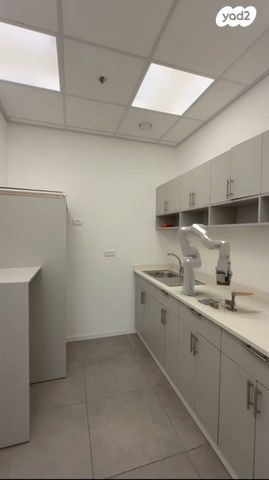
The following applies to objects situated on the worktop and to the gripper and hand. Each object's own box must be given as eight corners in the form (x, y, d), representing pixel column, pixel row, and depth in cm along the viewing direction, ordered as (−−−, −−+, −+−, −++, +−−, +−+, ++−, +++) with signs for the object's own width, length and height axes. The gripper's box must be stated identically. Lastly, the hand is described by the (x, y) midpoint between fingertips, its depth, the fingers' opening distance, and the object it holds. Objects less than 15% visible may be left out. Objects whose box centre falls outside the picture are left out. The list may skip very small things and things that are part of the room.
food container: (229, 284, 175) (230, 271, 175) (231, 286, 169) (232, 273, 169) (213, 282, 177) (214, 270, 177) (214, 284, 171) (215, 271, 171)
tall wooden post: (250, 294, 167) (250, 291, 167) (253, 295, 164) (253, 292, 164) (230, 295, 164) (230, 291, 164) (232, 296, 162) (232, 292, 161)
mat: (196, 300, 183) (196, 300, 183) (211, 299, 188) (211, 298, 188) (205, 305, 173) (205, 304, 173) (220, 303, 179) (220, 302, 179)
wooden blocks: (208, 305, 173) (208, 291, 173) (227, 302, 181) (227, 289, 180) (224, 312, 158) (225, 298, 158) (244, 309, 166) (245, 295, 165)
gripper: (237, 258, 165) (235, 282, 166) (219, 255, 181) (218, 277, 182) (229, 259, 162) (227, 283, 163) (212, 255, 178) (210, 278, 179)
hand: (222, 280), depth 172 cm, fingers closed on food container, 7 cm apart
